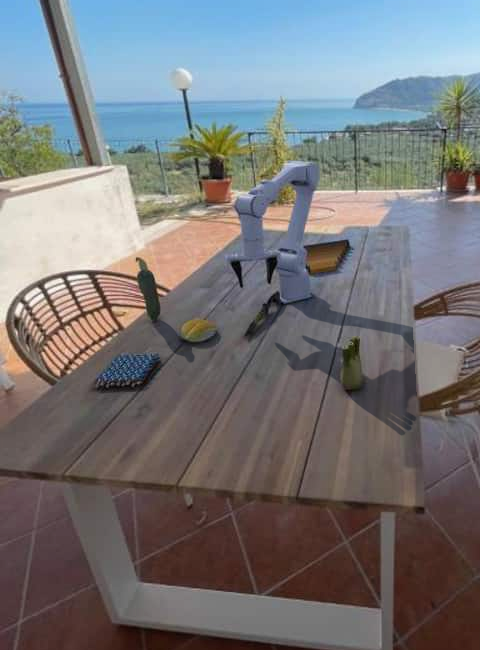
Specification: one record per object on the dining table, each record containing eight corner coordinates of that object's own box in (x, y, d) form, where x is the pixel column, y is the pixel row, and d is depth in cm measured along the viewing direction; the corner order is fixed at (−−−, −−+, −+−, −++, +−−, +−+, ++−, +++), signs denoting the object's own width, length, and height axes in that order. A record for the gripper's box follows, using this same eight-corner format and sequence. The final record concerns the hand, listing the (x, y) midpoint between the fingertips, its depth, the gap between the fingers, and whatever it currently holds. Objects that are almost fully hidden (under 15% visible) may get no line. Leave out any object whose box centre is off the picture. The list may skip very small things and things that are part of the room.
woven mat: (117, 360, 96) (115, 353, 95) (161, 358, 96) (160, 351, 95) (93, 388, 86) (90, 381, 85) (142, 386, 86) (140, 379, 86)
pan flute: (346, 245, 175) (292, 253, 165) (346, 238, 173) (291, 246, 163) (371, 264, 153) (310, 275, 144) (371, 256, 152) (310, 266, 142)
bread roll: (201, 323, 112) (199, 311, 110) (221, 332, 107) (219, 320, 106) (174, 336, 105) (172, 323, 104) (195, 347, 101) (192, 333, 99)
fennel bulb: (344, 396, 84) (344, 349, 79) (335, 383, 88) (333, 337, 83) (368, 387, 86) (368, 341, 82) (357, 375, 90) (357, 330, 86)
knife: (248, 347, 105) (246, 332, 102) (243, 346, 105) (240, 331, 103) (280, 299, 125) (279, 286, 123) (276, 299, 125) (274, 285, 123)
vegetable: (166, 318, 114) (153, 255, 107) (155, 326, 110) (140, 261, 103) (155, 316, 115) (141, 253, 108) (143, 323, 112) (128, 259, 104)
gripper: (226, 244, 99) (230, 293, 103) (282, 239, 105) (284, 286, 109) (223, 237, 105) (227, 284, 109) (276, 233, 111) (278, 277, 115)
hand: (255, 284), depth 110 cm, fingers open, 7 cm apart
